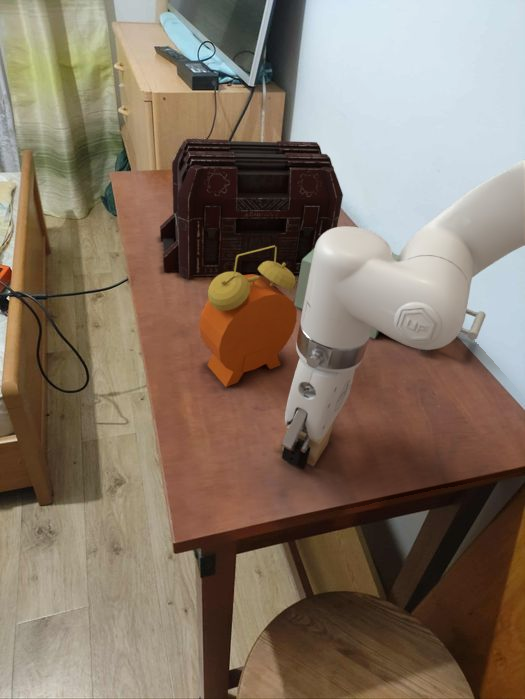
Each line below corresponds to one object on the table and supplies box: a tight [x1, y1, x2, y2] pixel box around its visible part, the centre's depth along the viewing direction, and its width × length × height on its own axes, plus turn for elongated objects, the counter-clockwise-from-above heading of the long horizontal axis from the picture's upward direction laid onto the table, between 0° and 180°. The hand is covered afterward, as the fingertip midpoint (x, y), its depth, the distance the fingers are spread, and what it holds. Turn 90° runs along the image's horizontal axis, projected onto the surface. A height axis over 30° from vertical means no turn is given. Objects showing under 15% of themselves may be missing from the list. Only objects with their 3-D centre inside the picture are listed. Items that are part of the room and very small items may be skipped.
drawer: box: [420, 308, 487, 354], centre depth 87 cm, size 20×11×8 cm, turn 60°
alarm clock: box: [198, 246, 298, 388], centre depth 72 cm, size 13×6×20 cm, turn 125°
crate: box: [159, 138, 344, 280], centre depth 97 cm, size 35×19×21 cm, turn 101°
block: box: [281, 420, 335, 467], centre depth 66 cm, size 5×5×5 cm
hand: (305, 443), depth 67 cm, fingers open, 6 cm apart
